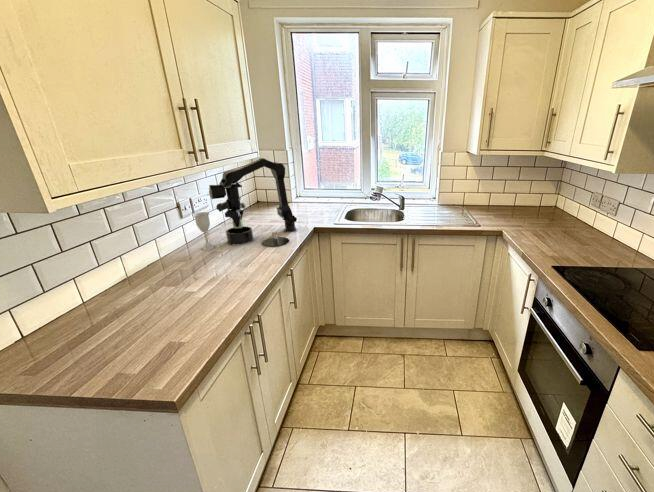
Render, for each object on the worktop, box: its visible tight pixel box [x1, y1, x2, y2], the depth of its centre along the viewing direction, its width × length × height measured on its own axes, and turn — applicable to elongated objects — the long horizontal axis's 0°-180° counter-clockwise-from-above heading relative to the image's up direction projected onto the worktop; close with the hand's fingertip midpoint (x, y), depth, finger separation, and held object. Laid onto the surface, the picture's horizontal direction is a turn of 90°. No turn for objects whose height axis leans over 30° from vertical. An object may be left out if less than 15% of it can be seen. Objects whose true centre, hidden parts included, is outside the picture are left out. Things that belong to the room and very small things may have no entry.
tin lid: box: [262, 231, 290, 248], centre depth 168 cm, size 14×14×6 cm
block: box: [232, 218, 244, 229], centre depth 167 cm, size 4×4×4 cm
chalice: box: [192, 211, 215, 251], centre depth 157 cm, size 7×7×18 cm
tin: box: [225, 225, 254, 246], centre depth 169 cm, size 13×13×6 cm
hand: (238, 225), depth 167 cm, fingers closed on block, 4 cm apart
